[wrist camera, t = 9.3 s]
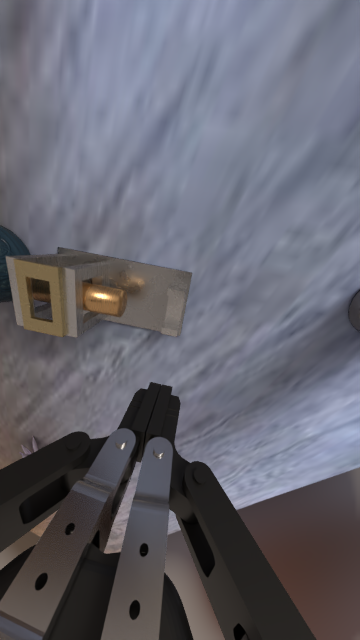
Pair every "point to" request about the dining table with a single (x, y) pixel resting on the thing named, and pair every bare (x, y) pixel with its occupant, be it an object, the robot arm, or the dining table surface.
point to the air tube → (88, 297)
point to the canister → (5, 244)
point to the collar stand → (76, 267)
